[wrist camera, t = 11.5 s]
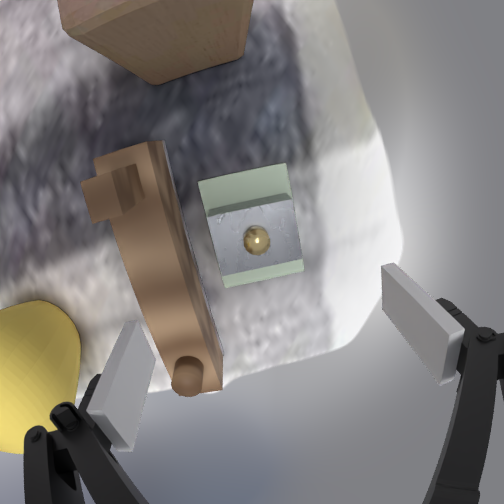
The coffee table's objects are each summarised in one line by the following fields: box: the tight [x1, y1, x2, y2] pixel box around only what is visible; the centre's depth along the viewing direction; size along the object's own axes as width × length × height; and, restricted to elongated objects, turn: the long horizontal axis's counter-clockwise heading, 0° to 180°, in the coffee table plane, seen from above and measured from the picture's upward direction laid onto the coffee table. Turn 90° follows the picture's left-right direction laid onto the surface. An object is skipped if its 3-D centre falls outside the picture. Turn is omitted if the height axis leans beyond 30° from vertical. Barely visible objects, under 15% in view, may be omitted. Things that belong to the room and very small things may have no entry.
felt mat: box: [198, 163, 304, 288], centre depth 34 cm, size 12×9×1 cm
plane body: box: [80, 140, 224, 397], centre depth 29 cm, size 26×5×13 cm, turn 12°
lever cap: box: [207, 193, 302, 276], centre depth 32 cm, size 6×8×5 cm
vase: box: [0, 300, 81, 454], centre depth 24 cm, size 16×16×28 cm
